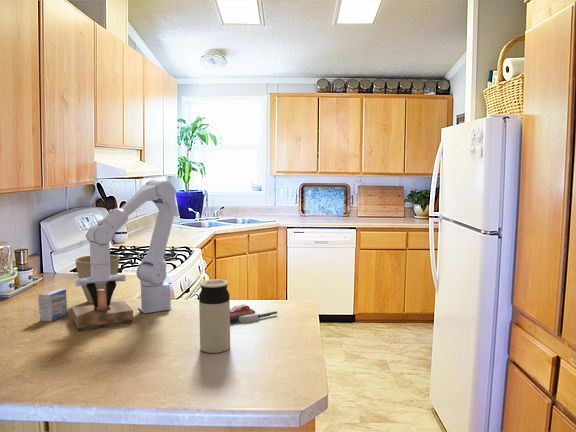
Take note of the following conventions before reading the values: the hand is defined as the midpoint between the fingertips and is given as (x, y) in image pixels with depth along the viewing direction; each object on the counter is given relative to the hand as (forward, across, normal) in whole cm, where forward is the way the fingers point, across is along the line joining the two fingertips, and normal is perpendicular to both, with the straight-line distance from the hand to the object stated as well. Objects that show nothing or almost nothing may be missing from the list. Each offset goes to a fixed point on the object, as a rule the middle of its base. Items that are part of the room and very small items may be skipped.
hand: (102, 305), depth 154 cm
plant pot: (+5, -3, -25) cm, 26 cm away
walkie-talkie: (+6, -40, +20) cm, 45 cm away
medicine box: (+5, +13, -12) cm, 18 cm away
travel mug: (+5, -22, +40) cm, 46 cm away
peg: (+2, 0, 0) cm, 2 cm away
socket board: (+5, 0, 0) cm, 5 cm away
